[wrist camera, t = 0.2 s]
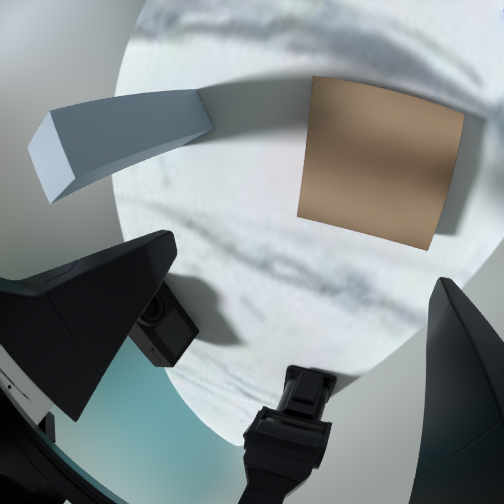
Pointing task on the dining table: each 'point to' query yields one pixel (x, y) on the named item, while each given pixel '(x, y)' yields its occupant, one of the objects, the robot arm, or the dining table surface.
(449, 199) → the dining table surface
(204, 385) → the dining table surface
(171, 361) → the digital camera
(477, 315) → the robot arm
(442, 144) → the walnut block
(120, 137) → the slate pillar
